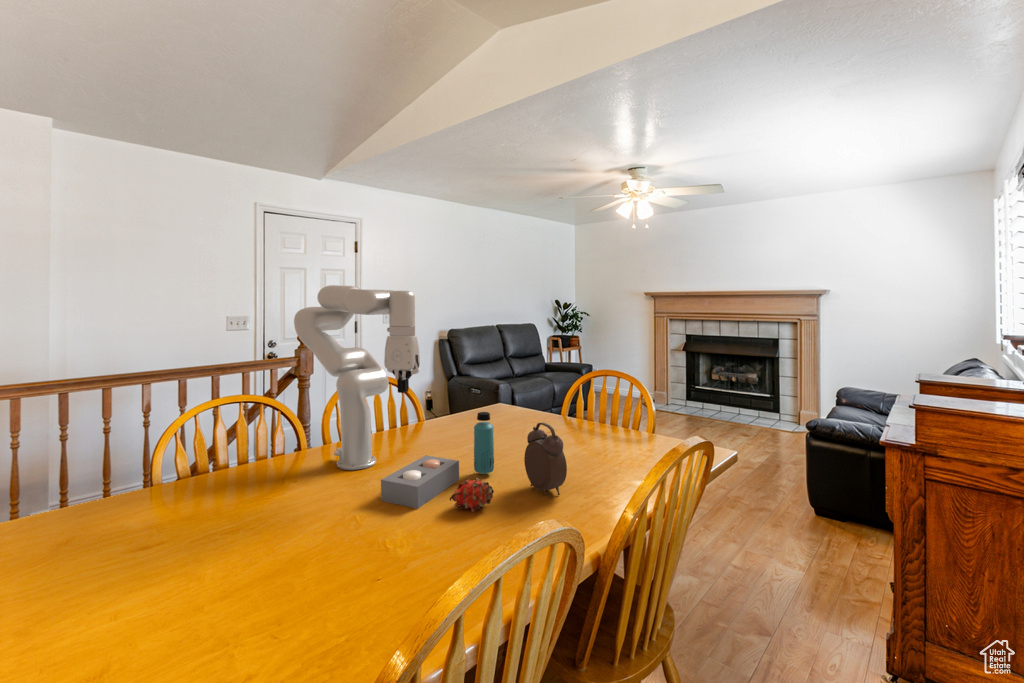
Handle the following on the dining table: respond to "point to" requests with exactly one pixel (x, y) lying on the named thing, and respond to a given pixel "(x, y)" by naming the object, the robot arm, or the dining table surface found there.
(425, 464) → the brown egg
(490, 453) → the beverage bottle
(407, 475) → the white rounded piece
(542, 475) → the alarm clock
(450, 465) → the grey rectangular block
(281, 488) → the dining table surface
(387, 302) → the robot arm
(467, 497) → the dragon fruit
